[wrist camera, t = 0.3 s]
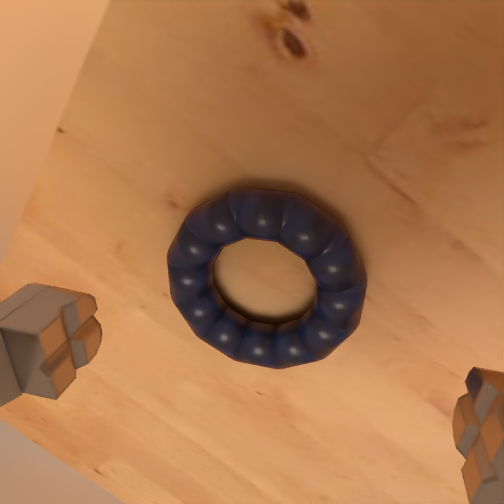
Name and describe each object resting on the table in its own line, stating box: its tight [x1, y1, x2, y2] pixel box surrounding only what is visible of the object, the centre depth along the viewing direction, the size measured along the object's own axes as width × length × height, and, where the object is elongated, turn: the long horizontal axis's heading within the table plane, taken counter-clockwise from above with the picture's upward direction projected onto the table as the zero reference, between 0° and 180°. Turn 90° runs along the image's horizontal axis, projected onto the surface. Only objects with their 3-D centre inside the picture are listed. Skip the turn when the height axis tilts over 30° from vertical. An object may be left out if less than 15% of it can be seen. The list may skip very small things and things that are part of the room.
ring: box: [167, 188, 367, 369], centre depth 25 cm, size 13×13×3 cm
